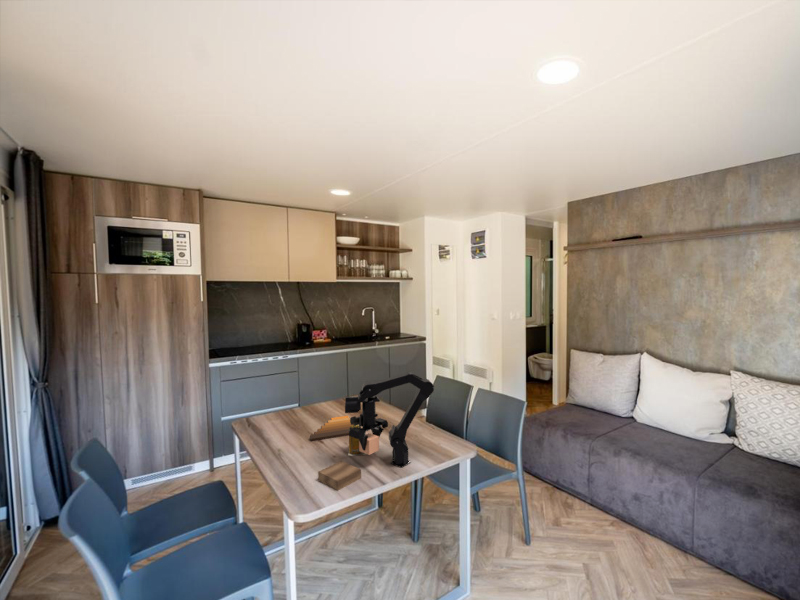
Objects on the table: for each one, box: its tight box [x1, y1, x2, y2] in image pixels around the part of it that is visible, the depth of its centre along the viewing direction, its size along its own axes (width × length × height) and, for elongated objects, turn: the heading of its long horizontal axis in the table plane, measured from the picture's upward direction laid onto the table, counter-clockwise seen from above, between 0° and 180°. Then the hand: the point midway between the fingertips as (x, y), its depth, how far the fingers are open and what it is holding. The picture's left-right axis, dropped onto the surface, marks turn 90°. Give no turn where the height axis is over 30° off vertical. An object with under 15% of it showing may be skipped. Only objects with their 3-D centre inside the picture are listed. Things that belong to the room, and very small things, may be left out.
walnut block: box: [317, 460, 362, 491], centre depth 147 cm, size 12×12×4 cm
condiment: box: [347, 425, 367, 457], centre depth 172 cm, size 7×8×12 cm
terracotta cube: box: [359, 432, 380, 456], centre depth 159 cm, size 6×6×6 cm
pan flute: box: [309, 415, 353, 442], centre depth 202 cm, size 25×3×25 cm
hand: (369, 447), depth 159 cm, fingers closed on terracotta cube, 6 cm apart
